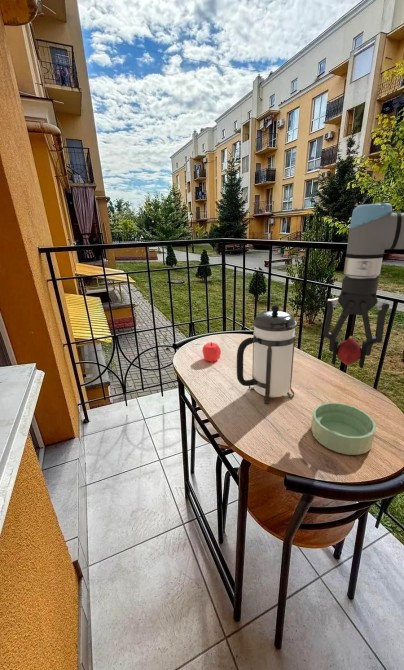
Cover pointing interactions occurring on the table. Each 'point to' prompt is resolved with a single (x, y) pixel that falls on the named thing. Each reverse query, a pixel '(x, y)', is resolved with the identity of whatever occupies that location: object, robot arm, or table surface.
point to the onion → (349, 351)
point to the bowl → (343, 428)
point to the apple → (211, 352)
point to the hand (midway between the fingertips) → (347, 363)
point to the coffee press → (270, 354)
